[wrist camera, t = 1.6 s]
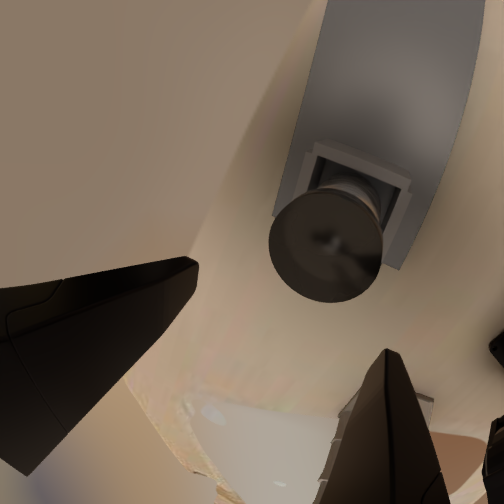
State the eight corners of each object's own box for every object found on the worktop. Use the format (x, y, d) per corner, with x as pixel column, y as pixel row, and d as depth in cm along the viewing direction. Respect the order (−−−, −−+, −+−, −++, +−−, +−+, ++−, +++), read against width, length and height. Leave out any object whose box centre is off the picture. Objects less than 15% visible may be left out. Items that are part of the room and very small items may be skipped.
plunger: (402, 202, 14) (406, 250, 9) (354, 257, 16) (332, 321, 12) (339, 150, 14) (309, 169, 10) (296, 210, 17) (249, 254, 12)
